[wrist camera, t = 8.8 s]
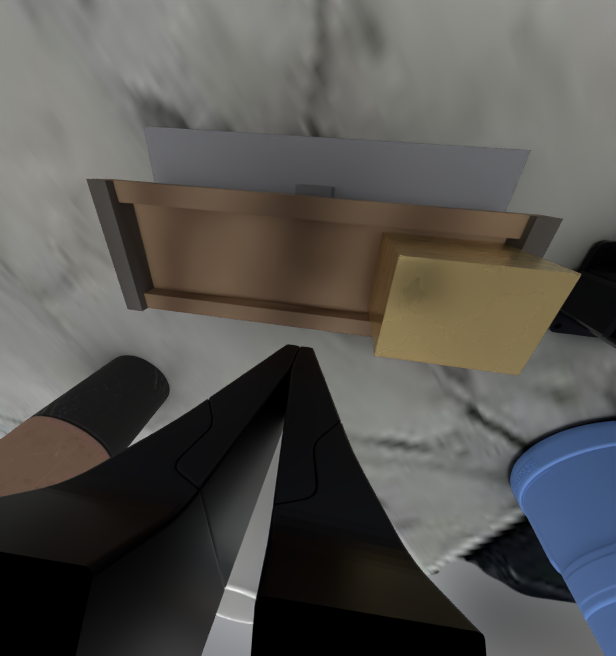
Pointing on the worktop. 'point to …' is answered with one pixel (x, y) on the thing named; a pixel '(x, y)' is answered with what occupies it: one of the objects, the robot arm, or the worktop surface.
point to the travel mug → (82, 426)
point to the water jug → (576, 516)
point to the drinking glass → (251, 554)
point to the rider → (463, 301)
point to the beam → (274, 249)
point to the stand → (337, 167)
